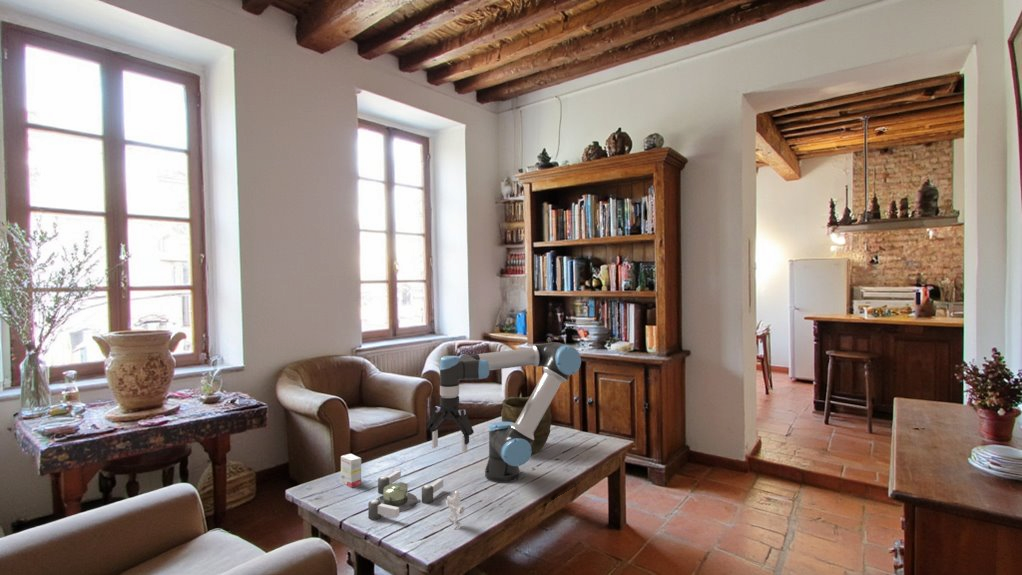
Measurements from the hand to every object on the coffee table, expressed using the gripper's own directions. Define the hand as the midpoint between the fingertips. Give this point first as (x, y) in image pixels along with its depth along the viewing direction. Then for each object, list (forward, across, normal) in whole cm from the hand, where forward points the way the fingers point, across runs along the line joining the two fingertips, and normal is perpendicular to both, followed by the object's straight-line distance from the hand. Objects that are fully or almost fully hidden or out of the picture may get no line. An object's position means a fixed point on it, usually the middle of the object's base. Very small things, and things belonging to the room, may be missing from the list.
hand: (449, 449), depth 189 cm
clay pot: (+19, -7, -61) cm, 64 cm away
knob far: (+18, +26, +4) cm, 32 cm away
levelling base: (+19, +16, +17) cm, 30 cm away
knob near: (+18, +5, +3) cm, 19 cm away
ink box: (+19, +44, +7) cm, 48 cm away
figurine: (+19, -13, +18) cm, 29 cm away
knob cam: (+18, +12, +26) cm, 33 cm away
